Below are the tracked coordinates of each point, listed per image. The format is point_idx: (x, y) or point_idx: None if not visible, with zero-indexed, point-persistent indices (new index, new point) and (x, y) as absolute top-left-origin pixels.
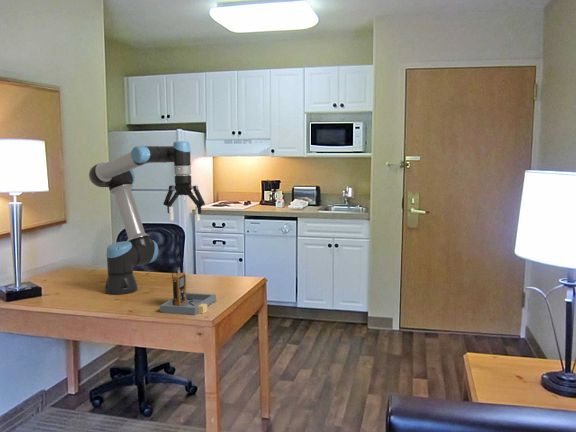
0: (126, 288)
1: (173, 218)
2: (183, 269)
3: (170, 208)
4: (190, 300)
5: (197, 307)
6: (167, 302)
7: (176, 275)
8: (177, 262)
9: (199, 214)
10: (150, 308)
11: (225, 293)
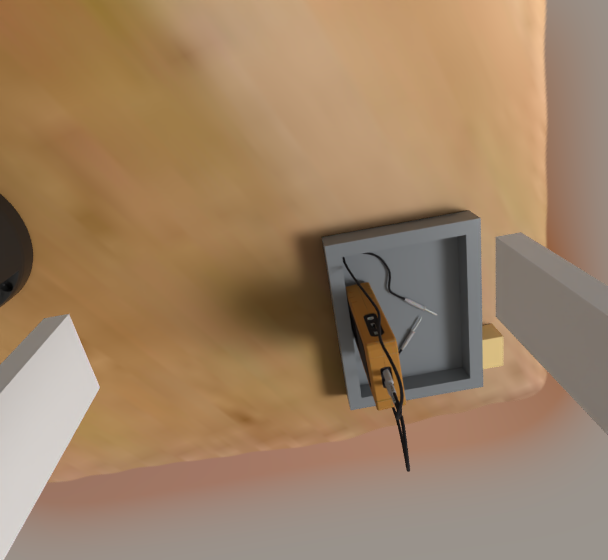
0: (17, 281)
1: (61, 331)
2: (381, 339)
3: (6, 552)
4: (373, 261)
5: (481, 368)
6: (353, 376)
7: (390, 399)
8: (403, 427)
9: (579, 279)
10: (284, 376)
11: (454, 81)
